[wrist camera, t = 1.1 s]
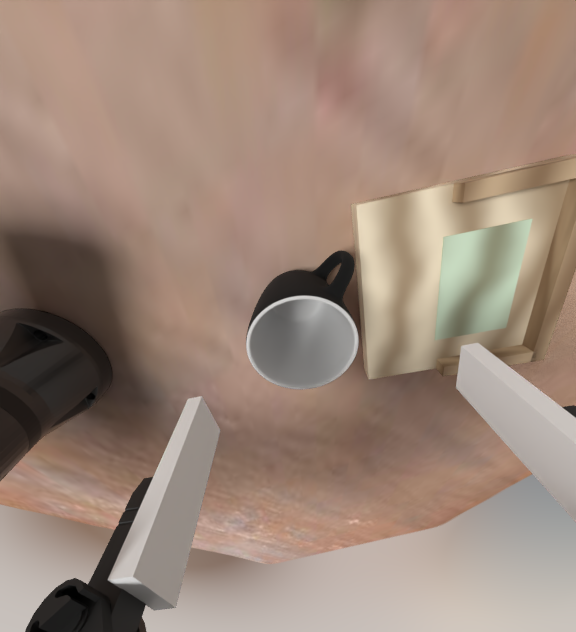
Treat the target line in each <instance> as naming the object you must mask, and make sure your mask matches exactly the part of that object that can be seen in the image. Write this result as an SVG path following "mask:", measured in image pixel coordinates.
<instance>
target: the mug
mask: <svg viewBox="0 0 576 632" xmlns="http://www.w3.org/2000/svg"><path fill="white" fill-rule="evenodd" d="M341 262H342V263H341ZM340 263H341V267H340V269H339V272H338V274H337V276H336V277H335V279H334V281H333V282H332V283H331V284H330V285H328V284H327V282H326V279H327V276H328V275H329V273H330V272H331V271H332V270H333V269H334V268H335V267H336V266H337V265H338V264H340ZM354 266H355V264H354V259H353V257H352V256H351V255H350V254H349V253H348V252H346V251H337V252H335V253H333V254H332V255H331V256H329V257H328V258H327V259H326V260H325V261H324V262H323V263H322V264H321V265H320V266H319V267H318V268H317V269H316V270H315V271H313V272H307V271H302V270H293V271H288V272H285V273H283V274H281V275H279V276H277V277H276V278H275V279H274V280H273V281H271V283H270V284H269V285H268V286H267V287H266V289H265V290H264V292H263V293H262V295H261V297H260V299H259V301H258V303H257V305H256V307H255V310H254V312H253V315H252V318H251V321H250V324H249V327H248V332H247V337H246V349H247V354H248V357H249V360H250V362H251V364H252V366H253V367H254V368H255V370H256V371H257V372H258V373H259V374H260V375H261V376H262V377H264V378H265V379H266V380H268V381H270V382H271V383H273V384H276V385H278V386H281V387H285V388H290V389H311V388H316V387H320V386H323V385H325V384H328V383H330V382H332V381H333V380H335V379H337V378H338V377H339V376H341V375H342V374H343V373H344V372H345V371H346V370H347V369H348V368H349V366H350V365H351V364H352V362H353V360H354V358H355V356H356V353H357V350H358V344H359V337H358V331H357V327H356V324H355V322H354V320H353V318H352V316H351V314H350V312H349V311H348V309H347V307H346V306H345V304H344V303H343V300H342V298H343V295H344V292H345V290H346V288H347V286H348V284H349V282H350V280H351V278H352V275H353V272H354Z"/></svg>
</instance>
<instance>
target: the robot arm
mask: <svg viewBox="0 0 576 632" xmlns="http://www.w3.org/2000/svg"><path fill="white" fill-rule="evenodd" d="M111 380H112V370H111V366H110V363H109V360H108V358H107V356H106V354H105V353H104V351H103V350H102V349H101V347H100V346H99V345H98V344H97V343H96V342H95V340H93V339H92V338H91V337H90V336H89V335H88V334H87V333H85V332H84V331H83V330H81V329H80V328H79V327H77V326H75V325H74V324H72V323H70V322H68V321H66V320H64V319H62V318H60V317H57V316H55V315H52V314H49V313H46V312H42V311H37V310H31V309H11V310H6V311H2V312H0V481H1V480H2V479H3V478H4V477H5V476H6V475H7V473H8V472H9V471H10V470H11V469H12V468H13V467H14V466H15V465H16V464H17V463H18V462H19V461H20V460H21V459H22V458H23V457H24V456H25V454H26V453H27V452H28V451H29V450H30V449H31V448H32V447H33V446H34V445H35V444H36V443H37V442H38V441H39V440H40V439H41V438H42V437H44V436H45V435H47V434H48V433H50V432H52V431H53V430H55V429H56V428H58V427H60V426H61V425H63V424H65V423H66V422H68V421H69V420H71V419H73V418H74V417H76V416H77V415H79V414H81V413H82V412H84V411H86V410H87V409H89V408H90V407H91V406H93V405H94V404H95V403H96V402H97V401H98V400H99V399H100V398H101V396H102V395H103V394H104V393H105V392H106V391H107V389H108V388H109V386H110V384H111ZM456 388H457V390H458V391H459V392H460V393H461V394H462V395H463V396H464V397H465V399H466V400H467V401H468V402H469V403H470V404H471V405H472V406H473V408H474V409H475V410H476V411H477V412H478V413H479V414H480V415H481V416H482V418H483V419H484V420H485V421H486V422H487V423H488V424H489V425H490V427H491V428H492V429H493V430H494V431H495V432H496V433H497V434H498V436H499V437H500V438H501V439H502V440H503V441H504V442H505V443H506V445H507V446H508V447H509V448H510V449H511V450H512V451H513V452H514V454H515V455H516V456H517V457H518V458H519V459H520V460H521V461H522V463H523V464H524V465H525V466H526V467H527V468H528V469H529V470H530V471H531V473H532V474H533V475H534V476H535V477H536V478H537V479H538V480H539V481H540V483H541V484H542V485H543V486H544V487H545V488H546V489H547V491H548V492H549V493H550V494H551V495H552V496H553V497H554V498H555V499H556V501H557V502H558V503H559V504H560V505H561V506H562V507H563V509H564V510H565V511H566V512H567V513H568V514H569V515H570V516H571V517H572V519H573V520H574V521H575V522H576V406H574V405H573V406H567V407H561V406H560V405H558V404H557V403H556V402H554V401H553V400H552V399H551V398H549V397H548V396H547V395H545V394H544V393H543V392H541V391H540V390H539V389H538V388H536V387H535V386H534V385H532V384H531V383H530V382H528V381H527V380H526V379H525V378H523V377H522V376H521V375H519V374H518V373H517V372H515V371H514V370H513V369H511V368H510V367H509V366H508V365H506V364H505V363H504V362H502V361H501V360H500V359H498V358H497V357H496V356H495V355H493V354H492V353H491V352H489V351H488V350H487V349H485V348H484V347H483V346H482V345H480V344H479V343H473V344H468V345H463V346H461V352H460V360H459V368H458V375H457V383H456ZM219 434H220V429H219V427H218V425H217V423H216V421H215V419H214V418H213V416H212V414H211V412H210V410H209V408H208V406H207V405H206V403H205V401H204V399H203V397H202V396H200V397H195V398H190V399H188V400H187V402H186V405H185V407H184V409H183V411H182V414H181V416H180V418H179V420H178V423H177V425H176V427H175V429H174V432H173V434H172V436H171V438H170V441H169V443H168V445H167V447H166V450H165V452H164V454H163V456H162V459H161V461H160V463H159V465H158V468H157V470H156V472H155V474H154V477H150V478H144V480H143V481H142V482H141V483H140V485H139V486H138V487H137V489H136V490H135V491H134V492H133V494H132V496H131V498H130V500H129V502H128V504H127V506H126V508H125V512H124V513H123V515H122V517H121V519H120V521H119V525H118V526H117V527H116V529H115V531H114V533H113V535H112V537H111V539H110V541H109V543H108V545H107V547H106V549H105V552H104V554H103V556H102V558H101V560H100V562H99V564H98V566H97V568H96V570H95V572H94V574H93V576H92V578H91V580H90V582H89V583H88V585H87V584H86V583H84V582H82V581H81V580H78V579H76V578H74V579H71V580H67V581H65V582H64V583H63V584H61V585H59V586H58V587H56V588H55V589H54V590H53V591H52V592H51V593H50V594H49V595H48V596H47V597H46V599H44V601H43V602H42V604H41V605H40V606H39V608H38V609H37V610H36V612H35V613H34V615H33V617H32V619H31V620H30V622H29V624H28V626H27V628H26V631H25V632H146V628H145V623H144V621H143V619H142V614H143V611H144V608H145V605H147V606H148V607H150V608H151V609H153V610H161V609H170V608H176V605H177V600H178V597H179V593H180V589H181V585H182V581H183V577H184V573H185V569H186V565H187V561H188V557H189V553H190V549H191V545H192V541H193V537H194V533H195V529H196V525H197V521H198V517H199V514H200V510H201V506H202V502H203V498H204V494H205V490H206V486H207V482H208V478H209V474H210V470H211V466H212V462H213V458H214V454H215V450H216V446H217V442H218V438H219Z"/></svg>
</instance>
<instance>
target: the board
mask: <svg viewBox="0 0 576 632" xmlns="http://www.w3.org/2000/svg"><path fill="white" fill-rule="evenodd" d="M351 211H352V223H353V236H354V248H355V261H356V273H357V286H358V298H359V311H360V323H361V336H362V348H363V361H364V370H365V372H366V375H367V377H368V379H369V380H370V379H376V378H382V377H388V376H394V375H399V374H405V373H411V372H417V371H423V370H429V369H435V368H436V369H437V370H438V371H439V372H440V373H441V375H442V376H449V375H455V374H458V368H459V360H460V352H461V346H463V345H468V344H473V343H479V344H480V345H482V346H483V347H484V348H485V349H487V350H488V351H489V352H491V353H492V354H493V355H495V356H496V357H497V358H498V359H500V360H501V361H502V362H504V363H505V364H506V365H508V366H509V365H515V364H521V363H528V362H534V361H540V360H544V358H545V355H546V352H547V349H548V346H549V344H550V341H551V338H552V335H553V332H554V329H555V327H556V324H557V321H558V318H559V315H560V312H561V309H562V307H563V304H564V301H565V298H566V295H567V292H568V290H569V287H570V284H571V281H572V278H573V275H574V272H575V270H576V154H572V155H567V156H563V157H558V158H554V159H549V160H545V161H540V162H536V163H532V164H527V165H523V166H518V167H514V168H509V169H505V170H501V171H496V172H492V173H487V174H483V175H478V176H474V177H470V178H465V179H461V180H456V181H452V182H447V183H443V184H439V185H434V186H430V187H425V188H421V189H416V190H412V191H408V192H403V193H399V194H394V195H390V196H386V197H381V198H377V199H372V200H368V201H363V202H359V203H355V204H351Z"/></svg>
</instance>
